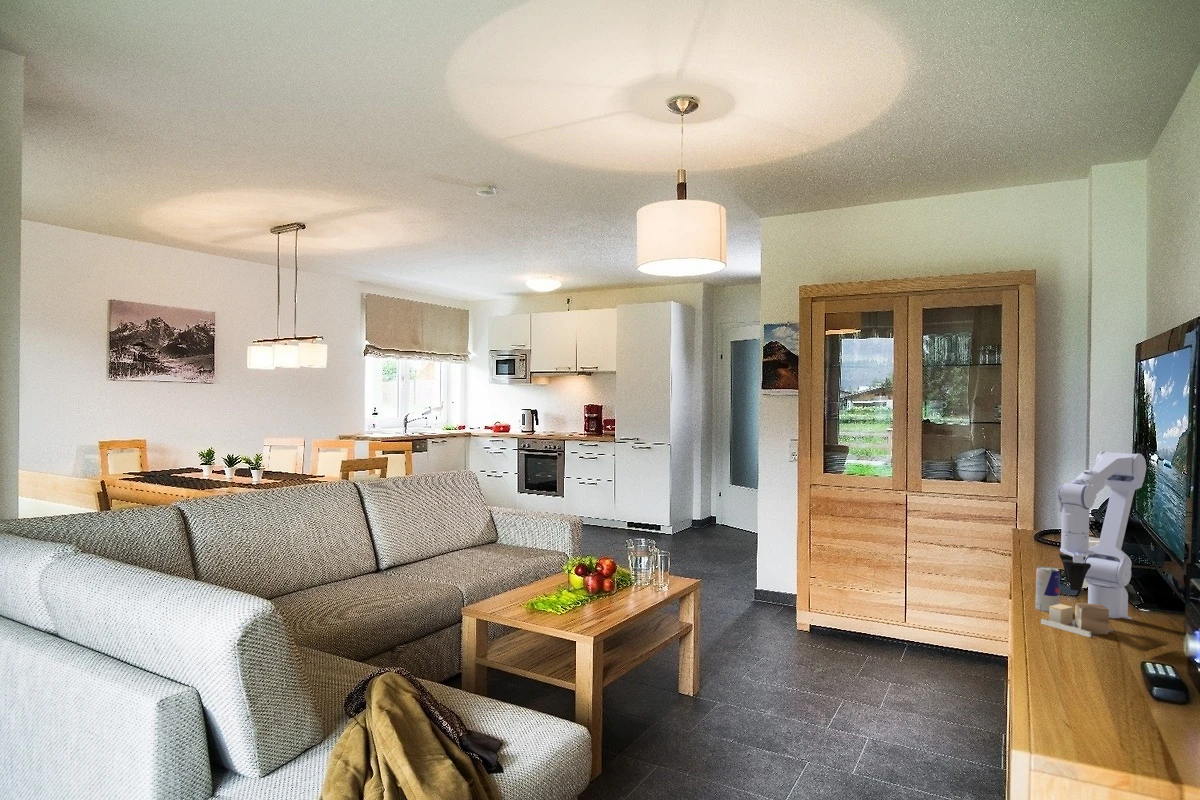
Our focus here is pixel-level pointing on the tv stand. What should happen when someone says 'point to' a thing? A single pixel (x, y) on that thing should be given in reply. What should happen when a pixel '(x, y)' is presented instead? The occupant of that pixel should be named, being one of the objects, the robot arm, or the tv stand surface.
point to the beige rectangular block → (1061, 614)
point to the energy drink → (1047, 588)
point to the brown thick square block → (1092, 617)
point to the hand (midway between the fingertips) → (1073, 586)
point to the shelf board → (1069, 628)
